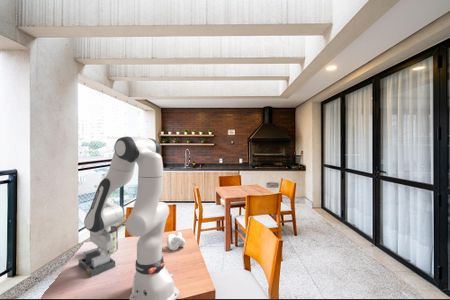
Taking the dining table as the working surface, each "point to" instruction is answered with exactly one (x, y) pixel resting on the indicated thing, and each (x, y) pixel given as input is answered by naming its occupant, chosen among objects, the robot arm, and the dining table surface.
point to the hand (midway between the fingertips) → (101, 254)
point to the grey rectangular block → (100, 260)
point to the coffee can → (114, 239)
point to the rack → (87, 263)
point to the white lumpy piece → (175, 241)
